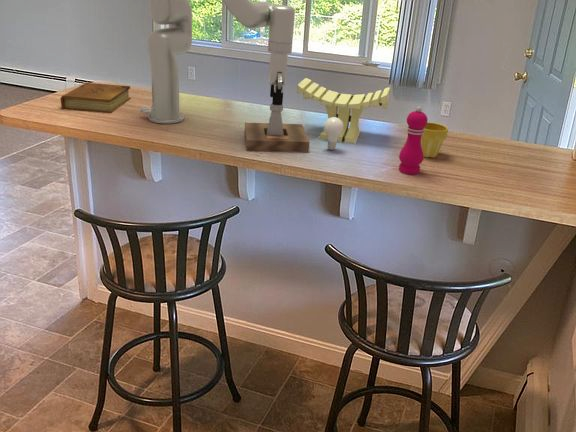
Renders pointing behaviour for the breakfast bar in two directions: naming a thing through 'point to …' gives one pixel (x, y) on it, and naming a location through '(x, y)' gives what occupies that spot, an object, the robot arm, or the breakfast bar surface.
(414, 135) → the pepper mill
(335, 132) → the lightbulb
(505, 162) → the breakfast bar surface
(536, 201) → the breakfast bar surface
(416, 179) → the breakfast bar surface
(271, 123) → the salt shaker
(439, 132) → the plant pot
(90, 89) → the diary
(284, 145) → the socket block
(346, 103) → the slatted curved stool
